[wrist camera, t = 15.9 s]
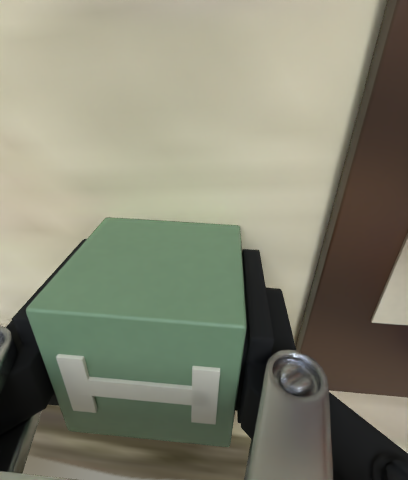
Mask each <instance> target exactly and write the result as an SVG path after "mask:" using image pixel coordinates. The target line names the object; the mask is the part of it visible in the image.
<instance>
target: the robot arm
mask: <svg viewBox="0 0 408 480" xmlns="http://www.w3.org/2000/svg"><path fill="white" fill-rule="evenodd" d="M86 240H87V239H84V240H82V242H81V243H80V244H79V245H78V246H77V247H76V248H75V249H74V250H73V252H72V253H71V254H70V255H69V256H68V257H67V258H66V259H65V260H64V262H63V263H62V264H61V265H60V266H59V267H58V268H57V269H56V270H55V272H54V273H53V274H52V275H51V276H50V277H49V278H48V279H47V280H46V282H45V283H44V284H43V285H42V286H41V287H40V288H39V289H38V290H37V291H36V293H35V294H34V295H33V296H32V297H31V298H30V299H29V300H28V301H27V303H26V304H25V305H24V306H23V307H22V308H21V309H20V310H19V311H18V313H17V314H16V315H15V316H14V317H13V318H12V321H11V322H10V323H9V324H8V326H7V327H6V328H5V327H2V326H0V480H76V479H67V478H57V477H48V476H39V475H30V474H22V473H23V470H24V466H25V463H26V460H27V457H28V454H29V451H30V448H31V444H32V441H33V438H34V435H35V432H36V429H37V426H38V422H39V419H40V416H41V411H42V410H44V409H45V408H46V406H47V405H48V404H49V405H59V403H58V400H57V398H56V395H55V392H54V389H53V386H52V384H51V381H50V378H49V375H48V373H47V370H46V367H45V364H44V361H43V359H42V356H41V353H40V350H39V347H38V345H37V342H36V339H35V336H34V333H33V331H32V328H31V325H30V322H29V319H28V317H27V314H26V308H27V307H28V306H29V305H30V303H31V302H32V301H33V300H34V299H35V298H36V297H37V295H38V294H39V293H40V292H41V291H42V290H43V289H44V287H45V286H46V285H47V284H48V283H49V282H50V281H51V280H52V278H53V277H54V276H55V275H56V274H57V273H58V272H59V270H60V269H61V268H62V267H63V266H64V265H65V264H66V263H67V261H68V260H69V259H70V258H71V257H72V256H73V255H74V253H75V252H76V251H77V250H78V249H79V248H80V247H81V245H82V244H83V243H84V242H85V241H86ZM242 264H243V279H244V294H245V309H246V324H247V329H246V336H245V343H244V350H243V357H242V364H241V372H240V379H239V386H238V393H237V400H236V407H235V410H237V413H238V423H241V428H242V429H243V430H244V431H245V432H246V434H247V435H248V436H249V437H250V438H251V444H250V449H249V455H248V461H247V467H246V473H245V478H244V480H408V453H406V452H405V451H404V450H402V449H401V448H400V447H399V446H397V445H396V444H395V443H394V442H392V441H391V440H390V439H388V438H387V437H386V436H385V435H383V434H382V433H381V432H380V431H378V430H377V429H376V428H374V427H373V426H372V425H371V424H369V423H368V422H367V421H365V420H364V419H363V418H362V417H360V416H359V415H358V414H357V413H355V412H354V411H353V410H351V409H350V408H349V407H348V406H346V405H345V404H344V403H343V402H341V401H340V400H339V399H337V398H336V397H335V396H334V395H332V394H331V393H330V392H329V384H328V379H327V375H326V373H325V372H324V370H323V368H322V367H321V366H320V365H319V364H318V363H317V362H316V361H315V360H314V359H313V358H311V357H310V356H308V355H307V354H304V353H301V352H299V351H296V348H295V343H294V339H293V335H292V331H291V327H290V323H289V318H288V314H287V310H286V306H285V302H284V298H283V294H282V291H281V289H274V288H265V282H264V276H263V270H262V264H261V258H260V252H259V250H247V249H243V253H242Z"/></svg>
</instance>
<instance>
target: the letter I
mask: <svg viewBox="0 0 408 480" xmlns="http://www.w3.org/2000/svg"><path fill="white" fill-rule="evenodd" d="M26 314H27V317H28V319H29V322H30V325H31V328H32V331H33V333H34V336H35V339H36V342H37V345H38V347H39V350H40V353H41V356H42V359H43V361H44V364H45V367H46V370H47V373H48V375H49V378H50V381H51V384H52V386H53V389H54V392H55V395H56V398H57V400H58V403H59V406H60V409H61V412H62V414H63V417H64V420H65V423H66V426H67V428H68V430H69V431H74V432H83V433H93V434H103V435H113V436H123V437H133V438H143V439H152V440H162V441H172V442H182V443H192V444H202V445H212V446H221V447H229V446H230V443H231V436H232V429H233V422H234V414H235V407H236V400H237V393H238V386H239V379H240V372H241V364H242V357H243V350H244V343H245V336H246V329H247V324H246V309H245V294H244V279H243V264H242V249H241V234H240V226H238V225H222V224H205V223H189V222H173V221H156V220H140V219H124V218H105V219H104V220H103V222H102V223H101V224H100V225H99V226H98V227H97V228H96V230H95V231H94V232H93V233H92V234H91V235H90V236H89V238H88V239H87V240H86V241H85V242H84V243H83V244H82V245H81V247H80V248H79V249H78V250H77V251H76V252H75V253H74V255H73V256H72V257H71V258H70V259H69V260H68V261H67V263H66V264H65V265H64V266H63V267H62V268H61V269H60V270H59V272H58V273H57V274H56V275H55V276H54V277H53V278H52V280H51V281H50V282H49V283H48V284H47V285H46V286H45V287H44V289H43V290H42V291H41V292H40V293H39V294H38V295H37V297H36V298H35V299H34V300H33V301H32V302H31V303H30V305H29V306H28V307H27V308H26Z"/></svg>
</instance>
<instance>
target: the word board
mask: <svg viewBox="0 0 408 480" xmlns="http://www.w3.org/2000/svg"><path fill="white" fill-rule="evenodd" d="M296 351H299V352H301V353H304V354H307V355H308V356H310V357H311V358H313V359H314V360H315V361H316V362H317V363H318V364H319V365H320V366H321V367H322V368H323V370H324V372H325V373H326V375H327V379H328V384H329V390H331V391H342V392H353V393H365V394H376V395H387V396H398V397H408V0H388V1H387V5H386V9H385V13H384V16H383V20H382V24H381V28H380V32H379V35H378V39H377V43H376V47H375V50H374V54H373V58H372V62H371V65H370V69H369V73H368V77H367V81H366V84H365V88H364V92H363V96H362V99H361V103H360V107H359V111H358V114H357V118H356V122H355V126H354V130H353V133H352V137H351V141H350V145H349V148H348V152H347V156H346V160H345V163H344V167H343V171H342V175H341V178H340V182H339V186H338V190H337V194H336V197H335V201H334V205H333V209H332V212H331V216H330V220H329V224H328V227H327V231H326V235H325V239H324V243H323V246H322V250H321V254H320V258H319V261H318V265H317V269H316V273H315V276H314V280H313V284H312V288H311V292H310V295H309V299H308V303H307V307H306V310H305V314H304V318H303V322H302V325H301V329H300V333H299V337H298V340H297V344H296Z"/></svg>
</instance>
